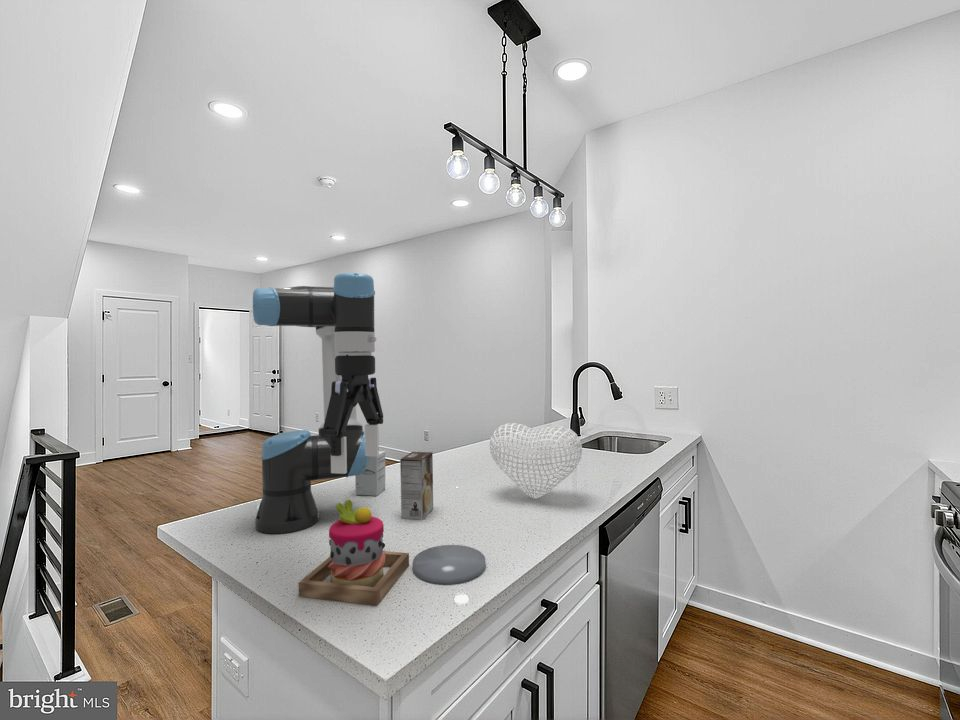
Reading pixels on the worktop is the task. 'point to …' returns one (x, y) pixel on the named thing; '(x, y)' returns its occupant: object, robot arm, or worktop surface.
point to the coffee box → (416, 485)
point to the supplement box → (372, 476)
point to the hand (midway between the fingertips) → (356, 464)
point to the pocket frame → (353, 593)
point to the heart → (537, 431)
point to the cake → (356, 547)
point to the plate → (448, 564)
